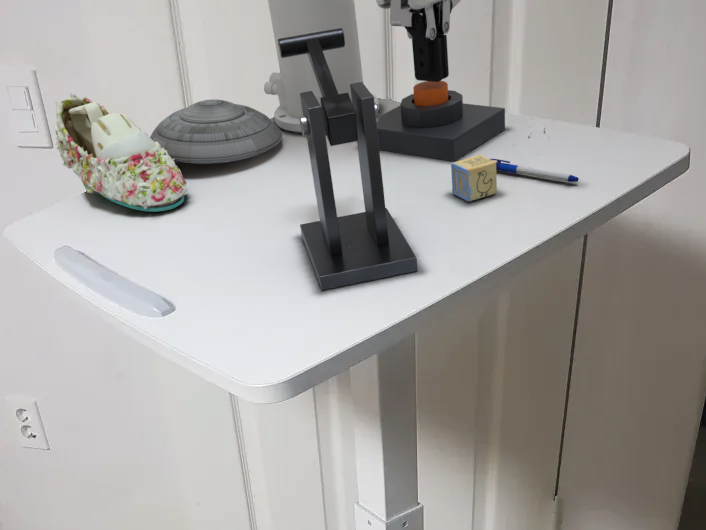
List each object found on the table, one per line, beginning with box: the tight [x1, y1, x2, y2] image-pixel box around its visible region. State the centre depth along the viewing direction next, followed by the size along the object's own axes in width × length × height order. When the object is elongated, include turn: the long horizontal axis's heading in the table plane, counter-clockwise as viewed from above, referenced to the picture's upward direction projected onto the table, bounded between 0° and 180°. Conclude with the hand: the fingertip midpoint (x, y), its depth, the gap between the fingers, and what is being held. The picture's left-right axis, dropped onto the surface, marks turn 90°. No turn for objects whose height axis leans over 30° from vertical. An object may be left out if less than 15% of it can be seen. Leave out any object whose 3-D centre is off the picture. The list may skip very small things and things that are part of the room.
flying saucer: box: [149, 99, 283, 165], centre depth 94 cm, size 15×15×6 cm
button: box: [412, 80, 449, 106], centre depth 89 cm, size 4×4×2 cm
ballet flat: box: [54, 92, 188, 213], centre depth 89 cm, size 9×25×8 cm, turn 39°
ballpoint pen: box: [490, 158, 579, 183], centre depth 80 cm, size 10×1×1 cm, turn 52°
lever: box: [278, 28, 358, 147], centre depth 68 cm, size 13×6×2 cm, turn 12°
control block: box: [377, 89, 506, 162], centre depth 90 cm, size 12×10×4 cm
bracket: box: [299, 82, 418, 291], centre depth 68 cm, size 11×8×13 cm
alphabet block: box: [450, 154, 498, 202], centre depth 78 cm, size 3×3×3 cm
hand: (431, 78), depth 88 cm, fingers closed
